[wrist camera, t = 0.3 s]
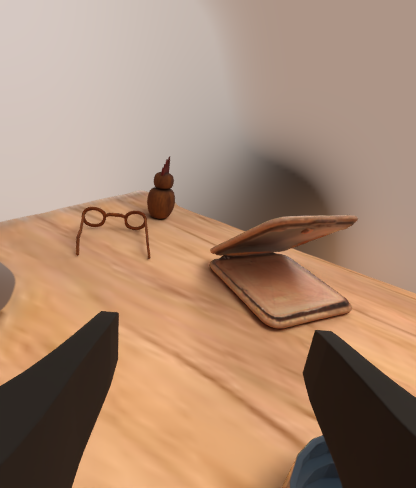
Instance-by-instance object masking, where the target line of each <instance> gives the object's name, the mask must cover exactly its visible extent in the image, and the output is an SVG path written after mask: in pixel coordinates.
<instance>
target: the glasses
mask: <svg viewBox="0 0 416 488" xmlns="http://www.w3.org/2000/svg"><path fill="white" fill-rule="evenodd" d="M90 210H96V211H99V212H101V213H102V215H103V220H102V222H101V223H98V224H91V223H89V222H87V221H86V219H85V214H86V212H87V211H90ZM132 214H139V215H141V216H143V218H144V223H143V224H142V225H141V226H139V227H132V226H130V225H129V224H128V223H127V218H128V216H130V215H132ZM108 216H115V217H122V218H125V225H126V227H127V228H129V229H132V230H140V229H142V228H144V227H145V233H146V243H147V252H148V259H150V250H149V241H148V229H147V218H146V215H145V214H144V213H142V212H140V211H131V212H128V213H127V214H126V215H123V214H118V213H108V214H106V213H105V211H103V210H102V209H100V208H97V207H88V208H86V209H85V210H84V211H83V213H82V220H81V225H80V230H79V232H78V235H77V238H76V255H79V238H80V235H81V233H82V228H83V222H84V223H85V224H86V225H88V226H91V227H99V226H102V225H103V224H104V223H105V220H106V217H108Z"/></svg>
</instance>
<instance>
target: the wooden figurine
mask: <svg viewBox="0 0 416 488" xmlns="http://www.w3.org/2000/svg"><path fill="white" fill-rule="evenodd" d="M169 166H170V157H169V159H168V160H166V164H164V168H162V172H159V173H157V174H156V175H155V177H154V185H155V188H152V189H151V190H150V192H149V194H148V200H147V203H148V211H149V214H150V215H151V216H152V217H154V218H157V219H164V218H167V217H168V216H169V215H170V214H171V212H172V210H173V208H174V204H175V196H174V192H173V191H172V190H171V189H170V188H172V186H173V182H174V179H173V176H172V175H171V174H169Z"/></svg>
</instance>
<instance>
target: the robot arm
mask: <svg viewBox="0 0 416 488" xmlns="http://www.w3.org/2000/svg"><path fill="white" fill-rule="evenodd" d="M118 325H119V313H117V312H106V311H101V312H100V313H98V314H97V315H96V316H95V317H94V318H92V319H91V320H90V321H89V322H88V323H87V324H85V325H84V326H83V327H82V328H81V329H80V330H78V331H77V332H76V333H75V334H74V335H72V336H71V337H70V338H69V339H67V340H66V341H65V342H64V343H62V344H61V345H60V346H59V347H57V348H56V349H55V350H53V351H52V352H51V353H49V354H48V355H47V356H45V357H44V358H43V359H41V360H40V361H38V362H37V363H36V364H34V365H33V366H31V367H30V368H29V369H27V370H25V371H24V372H22V373H21V374H19V375H18V376H16V377H14V378H13V379H11V380H10V381H8V382H6V383H5V384H3V385H1V386H0V488H72V485H73V482H74V479H75V475H76V472H77V469H78V466H79V463H80V460H81V458H82V455H83V452H84V449H85V447H86V445H87V442H88V440H89V437H90V435H91V432H92V430H93V427H94V425H95V423H96V420H97V418H98V415H99V413H100V410H101V408H102V405H103V403H104V401H105V398H106V396H107V393H108V391H109V388H110V386H111V382H112V379H113V375H114V371H115V368H116V364H117V360H118ZM303 376H304V381H305V385H306V389H307V393H308V396H309V400H310V403H311V405H312V408H313V411H314V413H315V416H316V418H317V421H318V424H319V426H320V429H321V431H322V434H323V436H324V439H325V441H326V444H327V446H328V449H329V451H330V454H331V456H332V459H333V461H334V464H335V467H336V469H337V472H338V475H339V478H340V481H341V484H342V487H343V488H416V397H414V396H413V395H411V394H410V393H409V392H407V391H406V390H405V389H403V388H402V387H401V386H399V385H398V384H397V383H395V382H394V381H393V380H391V379H390V378H389V377H388V376H386V375H385V374H384V373H382V372H381V371H380V370H379V369H377V368H376V367H375V366H374V365H373V364H371V363H370V362H369V361H368V360H366V359H365V358H364V357H363V356H362V355H360V354H359V353H358V352H357V351H356V350H354V349H353V348H352V347H351V346H350V345H348V344H347V343H346V342H345V341H343V340H342V339H341V338H340V337H338V336H337V335H336V334H334V333H333V332H332V331H322V330H315V333H314V336H313V340H312V343H311V347H310V350H309V353H308V357H307V360H306V364H305V367H304V370H303Z"/></svg>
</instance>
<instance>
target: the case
mask: <svg viewBox="0 0 416 488" xmlns="http://www.w3.org/2000/svg"><path fill="white" fill-rule="evenodd" d="M357 220H358V218H357V217H356V216H353V215H346V216H345V215H342V216H341V215H339V216H338V215H334V216H290V217H281V218H276V219H272V220H269V221H267V222H265V223H263V224H260V225H258V226H257V227H254V228H252V229H250V230H248V231H246V232H244V233H242V234H240V235H238V236H236V237H234V238H231V239H230V240H228V241H225V242H223V243H221V244H219V245H217V246H215V247H213V248H212V249H211V250H210V251H211V253H213V254H216V255H223V256H222V257H221V258H219V259H214V260H212V261H211V262H210V267H211V269H212V270H213V271H214V272H215V273H216V274H217V275H218V276H219V277H220V278H221V279H222V280H223V281H224V282H225V283H226V284H227V285H228V286H229V287H230V288H231V289H232V290H233V291H234V292H235V294H236V295H237V296H238V297H239V298H240V299H241V300H242V301H243V302H244V303H245V304H246V305H247V306H248V307H249V308H250V309H251V310H252V312H253V313H254V314H255V315H256V316H257V317H258V318H259V319H260V320H261V321H262V322H263V323H265V324H266V325H268V326H270V327H273V328H287V327H291V326H295V325H299V324H303V323H306V322H311V321H314V320H319V319H323V318H328V317H332V316H336V315H341V314H345V313H349V312H350V311H351V309H352V306H351V304H350V303H349V302H348V300H347V299H346V298H345V297H343V296H342V295H341V294H339V293H338V292H336V291H335V290H334V289H332V288H331V287H330V286H328V285H327V284H325V283H324V282H323V281H321V280H320V279H319V278H317V277H316V276H315V275H313V274H312V273H311V272H309V271H308V270H306V269H305V268H304V267H302V266H301V265H299V264H298V263H297V262H295V261H294V260H292V259H291V258H289V257H288V256H285V255H282V254H276V253H274V252H280V251H285V250H288V249H290V248H293V247H297V246H299V245H302V244H305V243H307V242H309V241H312V240H315V239H318V238H321V237H324V236H326V235H329V234H331V233H334V232H337V231H339V230H344V229H347V228H348V227H350V226H352V225H353V224H354V223H355V222H356V221H357Z"/></svg>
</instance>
